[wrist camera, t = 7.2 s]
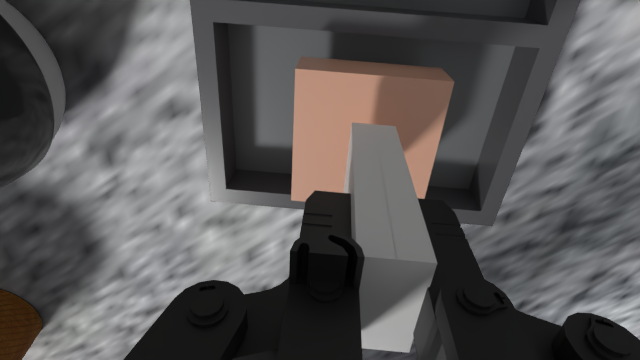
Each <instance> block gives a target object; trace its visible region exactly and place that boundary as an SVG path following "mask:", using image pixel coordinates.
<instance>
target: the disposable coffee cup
mask: <svg viewBox="0 0 640 360" xmlns="http://www.w3.org/2000/svg"><path fill="white" fill-rule="evenodd" d="M41 329H42V320H41V318H40V316H39V314H38V313H37V311H36V310H35V309H34V308H33V307H32V306H31V305H30V304H28V303H27V302H26V301H24V300H23V299H21V298H19V297H18V296H16V295H14V294H12V293H9V292H7V291H4V290H1V289H0V360H22V358H23V357H24V356H25V354H26V352H27V351H28V349H29V348H30V346H31V345H32V343H33V342H34V340H35V338H36V337H37V335H38V334H39V333H40V331H41Z"/></svg>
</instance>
